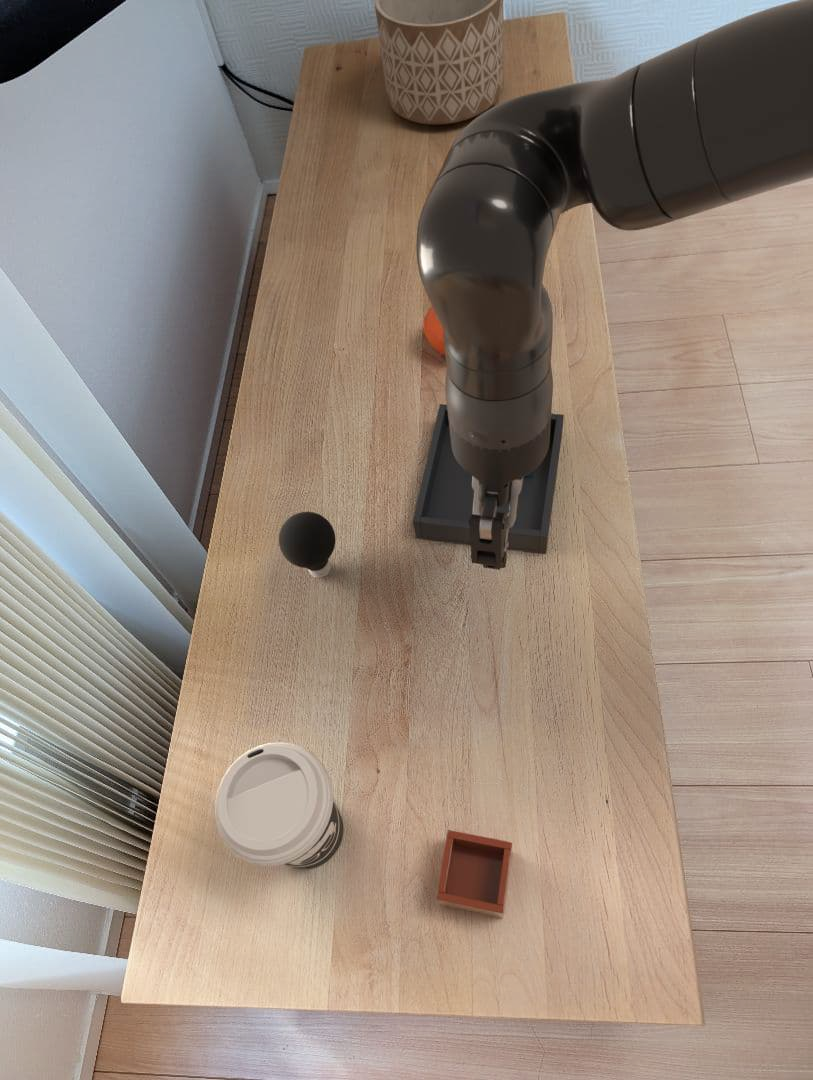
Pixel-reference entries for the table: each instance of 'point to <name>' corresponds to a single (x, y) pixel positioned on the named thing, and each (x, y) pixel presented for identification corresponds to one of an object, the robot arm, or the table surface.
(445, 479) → the tray
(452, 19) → the planter
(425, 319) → the tomato
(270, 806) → the coffee cup
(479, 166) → the robot arm
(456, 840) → the box brown
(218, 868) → the table surface
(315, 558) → the light bulb
